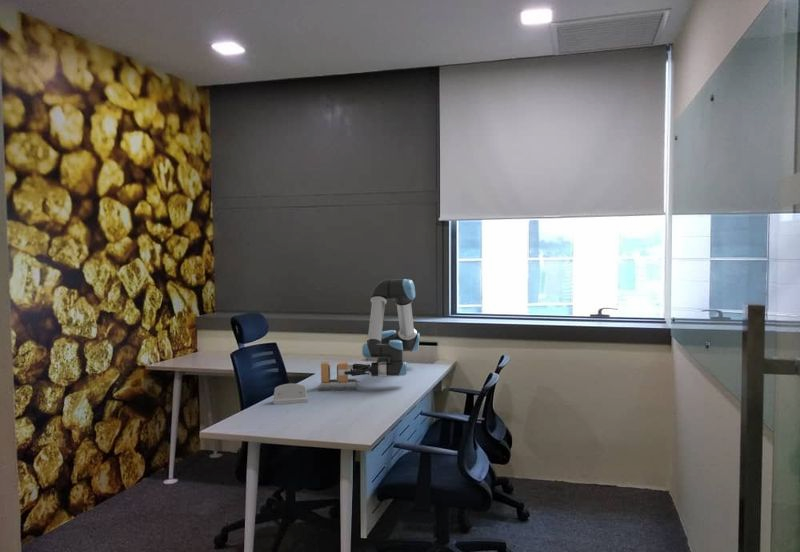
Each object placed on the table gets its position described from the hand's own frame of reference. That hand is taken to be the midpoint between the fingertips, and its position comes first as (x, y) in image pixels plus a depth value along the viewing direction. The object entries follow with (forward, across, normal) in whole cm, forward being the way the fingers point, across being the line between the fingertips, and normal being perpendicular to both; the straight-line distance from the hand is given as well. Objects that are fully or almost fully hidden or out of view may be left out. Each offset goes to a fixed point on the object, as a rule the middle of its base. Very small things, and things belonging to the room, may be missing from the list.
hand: (339, 369), depth 312 cm
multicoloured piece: (+1, 0, -10) cm, 10 cm away
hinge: (+22, -27, -10) cm, 36 cm away
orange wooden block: (-2, 0, -8) cm, 8 cm away
